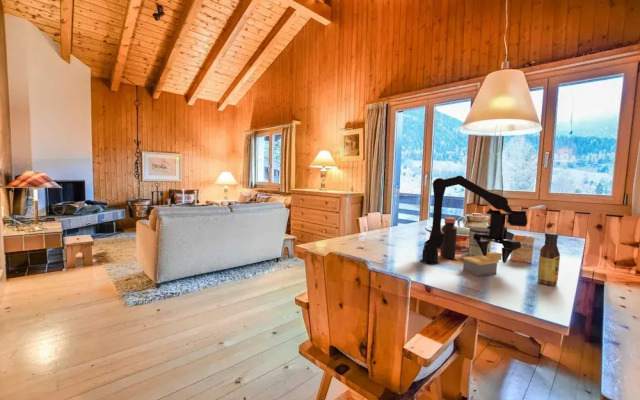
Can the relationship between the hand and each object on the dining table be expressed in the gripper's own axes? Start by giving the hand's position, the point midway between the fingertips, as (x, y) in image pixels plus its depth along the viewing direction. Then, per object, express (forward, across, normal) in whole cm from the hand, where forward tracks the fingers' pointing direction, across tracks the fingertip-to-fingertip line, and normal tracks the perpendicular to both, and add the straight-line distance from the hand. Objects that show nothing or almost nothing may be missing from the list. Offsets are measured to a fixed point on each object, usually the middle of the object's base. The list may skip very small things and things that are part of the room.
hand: (494, 259), depth 130 cm
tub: (+5, 0, +8) cm, 10 cm away
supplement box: (+5, +6, -27) cm, 28 cm away
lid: (0, 0, +6) cm, 6 cm away
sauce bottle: (+5, -18, -7) cm, 20 cm away
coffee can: (+5, +19, -14) cm, 24 cm away
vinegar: (+5, +22, +4) cm, 23 cm away
